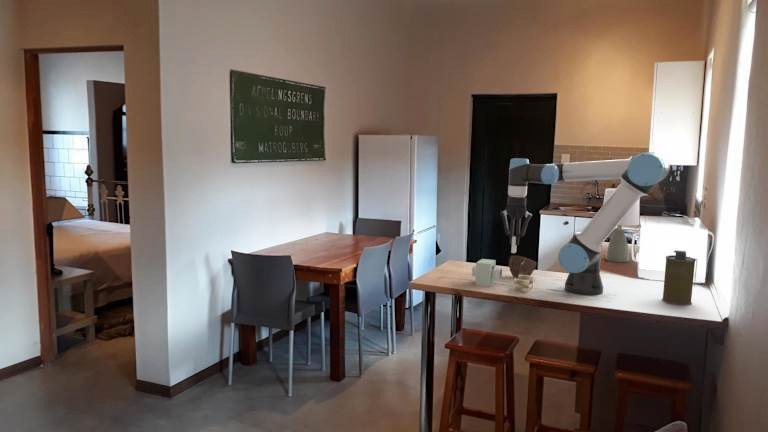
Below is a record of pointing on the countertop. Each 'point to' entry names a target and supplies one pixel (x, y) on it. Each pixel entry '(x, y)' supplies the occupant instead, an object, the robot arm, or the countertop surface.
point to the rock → (521, 266)
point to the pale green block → (484, 272)
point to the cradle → (523, 283)
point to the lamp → (621, 232)
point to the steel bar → (495, 272)
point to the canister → (679, 279)
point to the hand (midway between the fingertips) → (513, 252)
